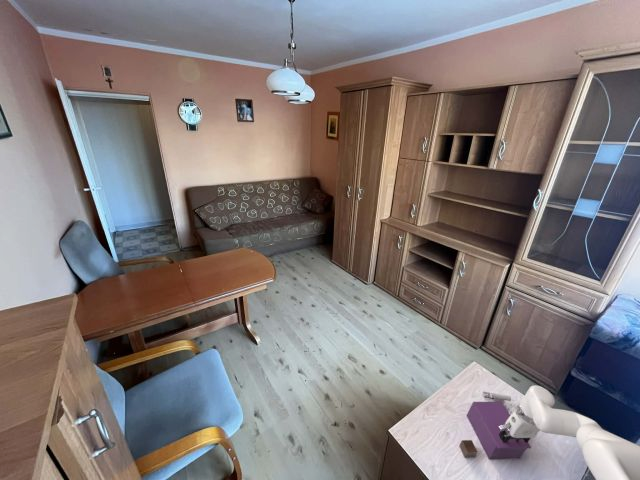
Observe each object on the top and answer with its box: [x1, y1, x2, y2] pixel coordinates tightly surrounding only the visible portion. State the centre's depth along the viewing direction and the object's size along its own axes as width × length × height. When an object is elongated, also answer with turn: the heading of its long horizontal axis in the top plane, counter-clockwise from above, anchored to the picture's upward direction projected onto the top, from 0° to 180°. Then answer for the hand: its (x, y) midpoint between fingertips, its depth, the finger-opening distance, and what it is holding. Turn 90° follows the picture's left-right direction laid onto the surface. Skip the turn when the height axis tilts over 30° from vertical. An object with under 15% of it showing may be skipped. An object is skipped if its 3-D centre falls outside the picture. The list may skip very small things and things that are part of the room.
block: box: [458, 439, 478, 458], centre depth 113 cm, size 4×4×4 cm
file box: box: [466, 402, 528, 460], centre depth 118 cm, size 18×14×10 cm
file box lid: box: [472, 401, 532, 449], centre depth 114 cm, size 19×14×5 cm
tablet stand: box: [482, 391, 512, 406], centre depth 132 cm, size 9×8×8 cm
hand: (512, 438), depth 108 cm, fingers open, 8 cm apart
